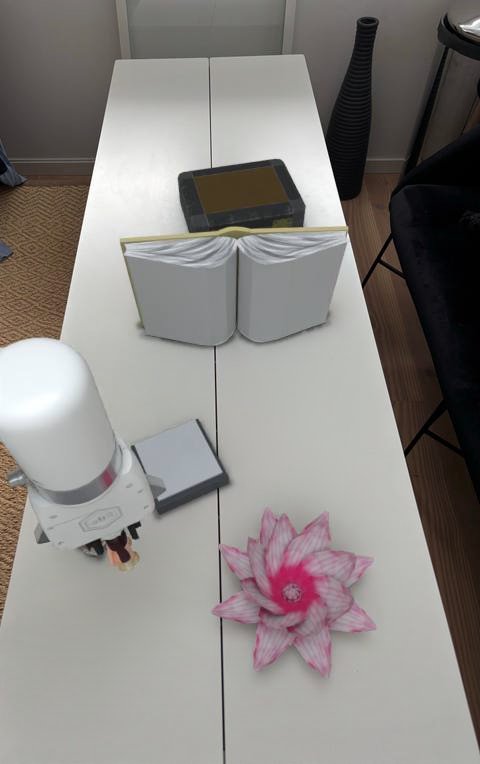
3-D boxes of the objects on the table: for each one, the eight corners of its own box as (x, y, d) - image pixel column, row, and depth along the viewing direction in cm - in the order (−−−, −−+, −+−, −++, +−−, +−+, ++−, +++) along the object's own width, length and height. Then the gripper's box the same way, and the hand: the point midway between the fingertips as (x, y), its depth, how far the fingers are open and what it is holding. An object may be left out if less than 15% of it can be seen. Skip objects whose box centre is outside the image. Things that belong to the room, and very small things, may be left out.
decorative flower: (357, 529, 84) (378, 488, 71) (373, 688, 71) (402, 671, 59) (217, 525, 84) (214, 484, 72) (209, 683, 72) (204, 666, 59)
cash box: (279, 183, 134) (281, 154, 127) (304, 236, 122) (308, 208, 116) (178, 198, 130) (175, 169, 124) (195, 255, 119) (192, 226, 113)
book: (324, 307, 110) (346, 219, 88) (330, 340, 106) (355, 257, 84) (142, 319, 108) (119, 233, 86) (142, 353, 105) (118, 272, 83)
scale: (159, 515, 85) (156, 507, 82) (132, 453, 91) (129, 444, 89) (228, 483, 88) (228, 475, 85) (198, 425, 94) (197, 416, 92)
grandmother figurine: (96, 542, 68) (67, 502, 57) (122, 523, 69) (99, 481, 59) (129, 592, 64) (105, 560, 54) (156, 571, 66) (138, 535, 55)
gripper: (-19, 540, 42) (49, 600, 57) (183, 457, 46) (196, 534, 61) (-35, 459, 46) (33, 535, 61) (152, 390, 50) (172, 477, 65)
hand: (114, 534), depth 60 cm, fingers closed on grandmother figurine, 3 cm apart
